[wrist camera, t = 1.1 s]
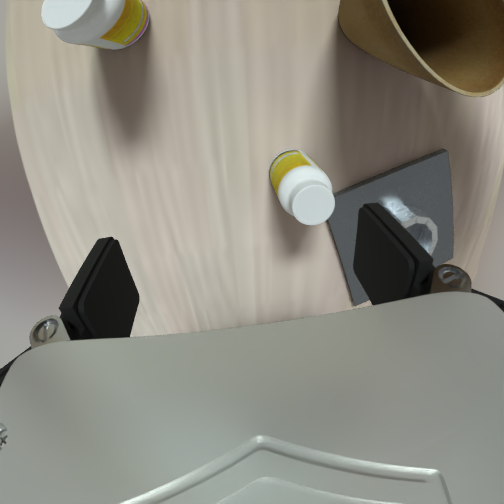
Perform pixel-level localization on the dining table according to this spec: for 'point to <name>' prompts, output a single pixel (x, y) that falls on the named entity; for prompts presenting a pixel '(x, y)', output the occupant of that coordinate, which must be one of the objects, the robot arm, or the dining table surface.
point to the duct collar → (399, 211)
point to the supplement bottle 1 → (97, 21)
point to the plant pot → (433, 39)
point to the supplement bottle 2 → (302, 187)
